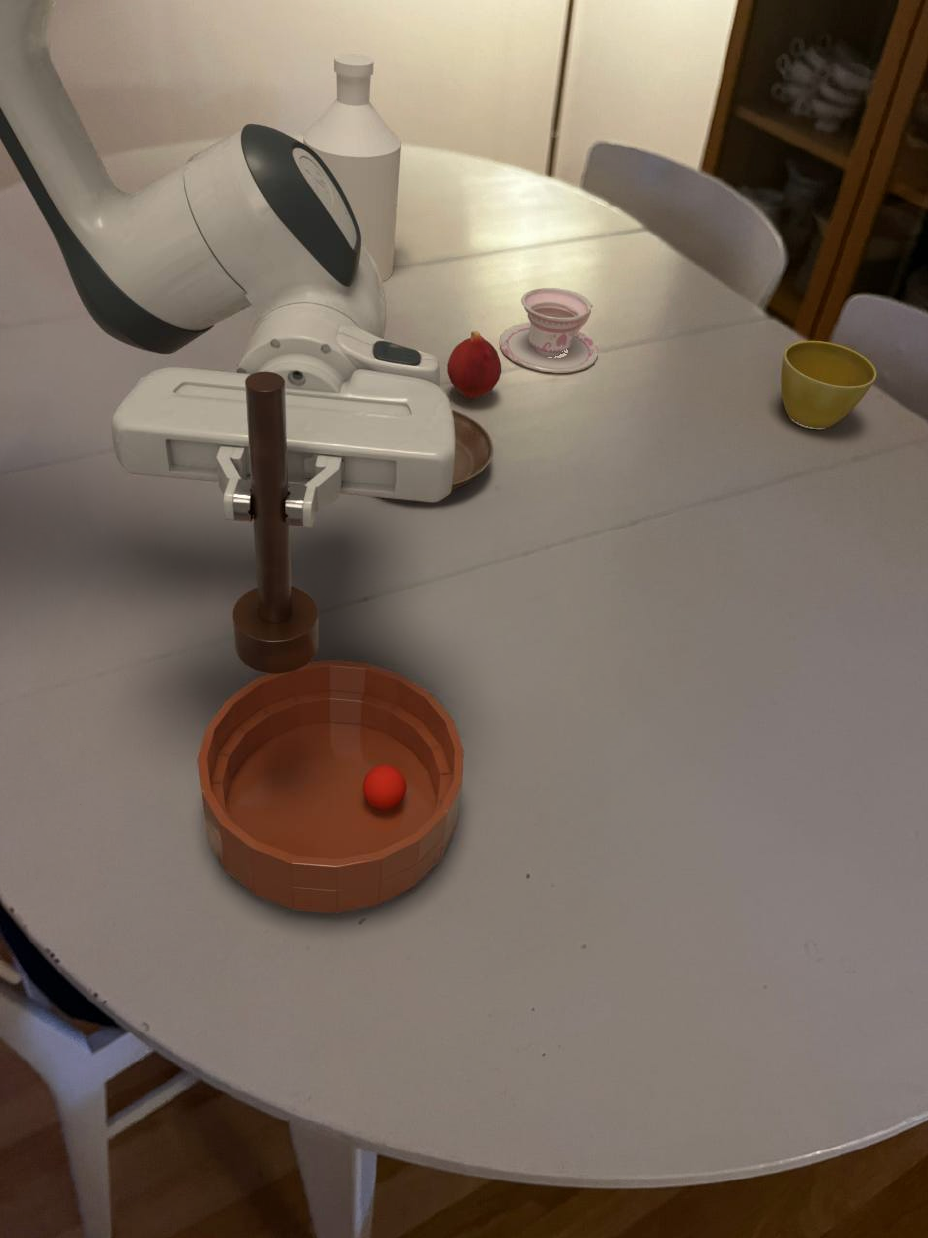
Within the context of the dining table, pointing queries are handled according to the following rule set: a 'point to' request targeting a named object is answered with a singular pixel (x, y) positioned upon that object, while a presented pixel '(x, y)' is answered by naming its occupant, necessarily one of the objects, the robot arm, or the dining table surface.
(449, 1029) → the dining table surface
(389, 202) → the bottle
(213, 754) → the bowl
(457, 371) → the onion
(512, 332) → the teacup
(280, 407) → the wooden peg stand
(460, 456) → the saucer
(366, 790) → the cherry tomato
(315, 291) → the robot arm
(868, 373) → the flower pot
